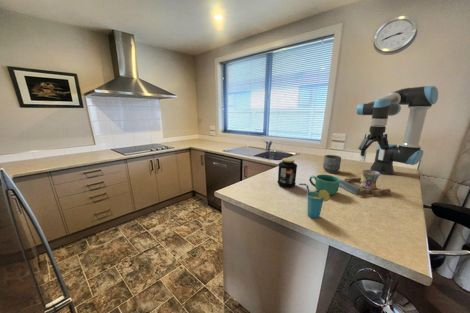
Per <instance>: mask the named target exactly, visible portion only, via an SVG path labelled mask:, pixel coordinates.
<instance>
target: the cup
mask: <svg viewBox="0 0 470 313" xmlns="http://www.w3.org/2000/svg"><path fill="white" fill-rule="evenodd" d="M298 186H306V189H307V193H306V196H307V202H306V203H307V204H306V205H307V206H306V208H307V209H306V212H307V214H308V215H307V217H308V216H309V218H310V217H311V218H310V219H313V218H316V219H315V220H318V219H319V218H320V215H321V212H322V211H321V210H322V207H323V204H324V202H328V201H329V200H330V199H331V195H329V193H328V192H327V191H326V190H320V192H319V191H310V188H309V185H308V184H307V183H298Z"/></svg>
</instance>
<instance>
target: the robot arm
mask: <svg viewBox="0 0 470 313" xmlns="http://www.w3.org/2000/svg"><path fill="white" fill-rule="evenodd" d="M438 99H439V91H438V88H437V87H436V86H435V85H434V86H433V85H432V86H431V85H430V86H429V85H428V86H427V85H426V86H425V85H424V86H417V87H416V86H415V87H405V88H401V89H398V90H395V91H393V92H390V93H388V94H387V95H385V96H383V97H381V98H376V99H375V100H372V101H371V102H367V103H359V104H358V105H357V106H356V108H355V109H356V110H355V113H356V114H357V115H358V116H371V121H370V126H369V131H368V132H369V133H366V134H365V135H364V138H363V139H362V141H361V142H360V145H358V150H360V161H361V162H366V158H367V150H368V148H369V147H370V146H371V145H372V143H374V142H375V143H376V142H377V143H378V144H377V146H376V147H377V148H376V152H375V157H374V162H372V165H371V166H370V169H369V170H373V171H377V172H379V173H381V174H380V175H394V172H395V169H394V165H393V164H394V162H395V163H400V164H405V165H410V166H414V165H415V166H416V165H417V164H418V163H419V162H420V161H421V159H423V156H424V150H423V149H421V148H422V146H421V145H420V140H421V137H422V136H421V135H422V132H423V128H424V124H425V120H426V116H427V113H428V110H429V109H430V108H432V105H435V104H436V103H437V101H438ZM401 105H403V106H406V105H407V108H408V109H409V114H408V118H407V121H406V126H405V130H404V135H403V139H402V142H401V143H399V144H398V145H397V144H396V143H389V141H388V134H387V133H386V128H387V127H386V126H387V124H388V119H389V117H390V116H391V117H392V116H393V117H394V116H397V115H398V114H399V113H400V112H401V110H402V106H401Z"/></svg>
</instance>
